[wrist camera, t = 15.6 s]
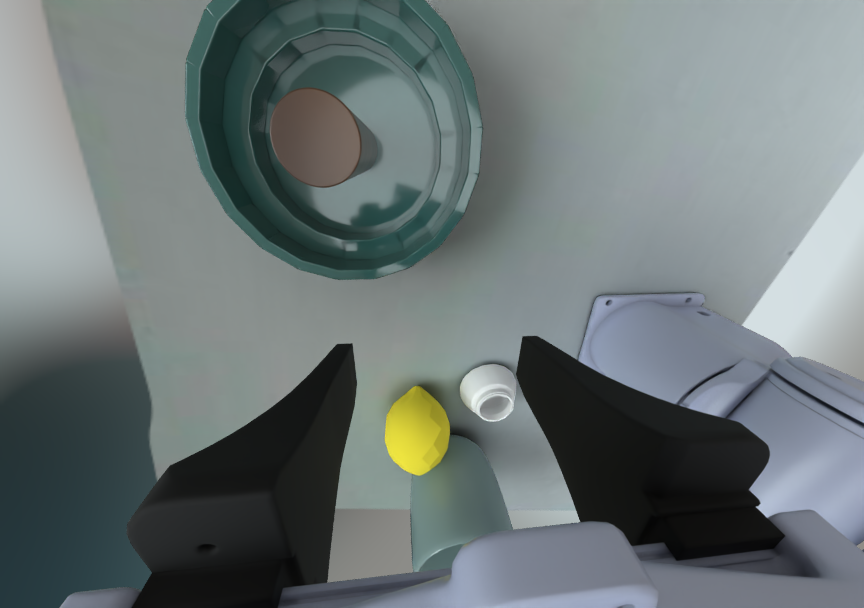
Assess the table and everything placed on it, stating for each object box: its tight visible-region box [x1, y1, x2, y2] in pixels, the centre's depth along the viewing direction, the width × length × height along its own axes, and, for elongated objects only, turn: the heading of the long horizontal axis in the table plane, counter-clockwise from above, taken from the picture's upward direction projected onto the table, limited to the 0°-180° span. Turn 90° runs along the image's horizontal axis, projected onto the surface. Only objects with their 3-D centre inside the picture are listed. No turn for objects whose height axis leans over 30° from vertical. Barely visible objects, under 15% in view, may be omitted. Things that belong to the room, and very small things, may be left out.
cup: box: [410, 435, 513, 572], centre depth 26 cm, size 8×8×10 cm
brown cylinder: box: [270, 87, 377, 188], centre depth 14 cm, size 3×3×9 cm
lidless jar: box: [460, 364, 517, 422], centre depth 26 cm, size 5×3×5 cm
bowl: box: [185, 0, 483, 280], centre depth 16 cm, size 13×13×4 cm
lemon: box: [385, 386, 450, 476], centre depth 25 cm, size 7×5×5 cm
